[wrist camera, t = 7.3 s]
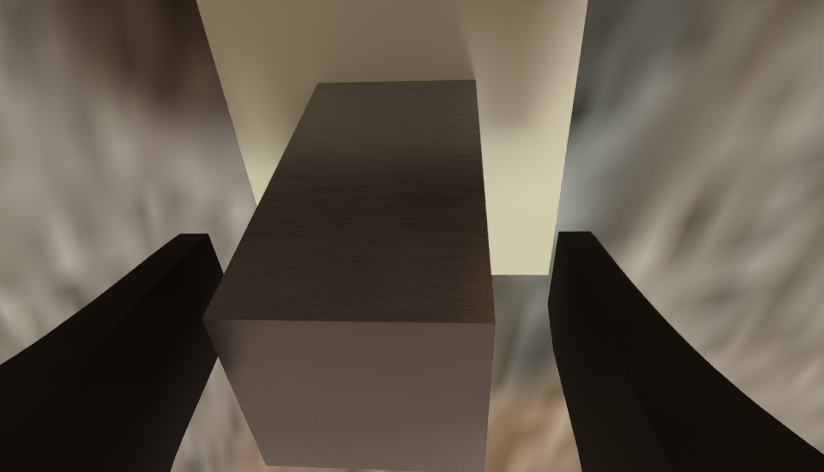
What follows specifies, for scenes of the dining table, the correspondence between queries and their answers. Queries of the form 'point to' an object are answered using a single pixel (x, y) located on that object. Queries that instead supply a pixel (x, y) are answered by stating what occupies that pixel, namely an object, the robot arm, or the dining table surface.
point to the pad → (417, 61)
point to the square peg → (367, 286)
